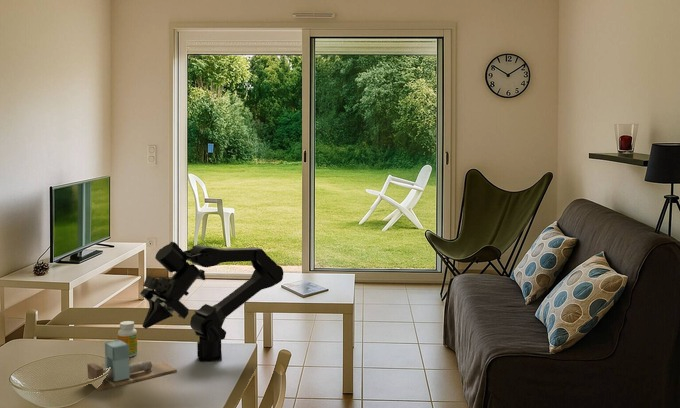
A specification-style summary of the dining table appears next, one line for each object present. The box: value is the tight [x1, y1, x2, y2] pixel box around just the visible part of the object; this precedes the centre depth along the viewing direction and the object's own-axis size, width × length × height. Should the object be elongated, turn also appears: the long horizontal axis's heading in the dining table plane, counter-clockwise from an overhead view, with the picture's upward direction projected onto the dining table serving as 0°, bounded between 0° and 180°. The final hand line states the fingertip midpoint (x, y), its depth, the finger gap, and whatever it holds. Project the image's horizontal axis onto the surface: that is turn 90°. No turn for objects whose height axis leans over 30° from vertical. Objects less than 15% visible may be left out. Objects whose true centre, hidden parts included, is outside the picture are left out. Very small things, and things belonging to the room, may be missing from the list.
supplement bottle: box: [117, 320, 138, 358], centre depth 201 cm, size 5×5×10 cm
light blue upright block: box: [104, 339, 130, 381], centre depth 181 cm, size 4×6×9 cm, turn 41°
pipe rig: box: [86, 359, 178, 391], centre depth 184 cm, size 22×8×5 cm, turn 131°
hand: (143, 327), depth 185 cm, fingers closed
